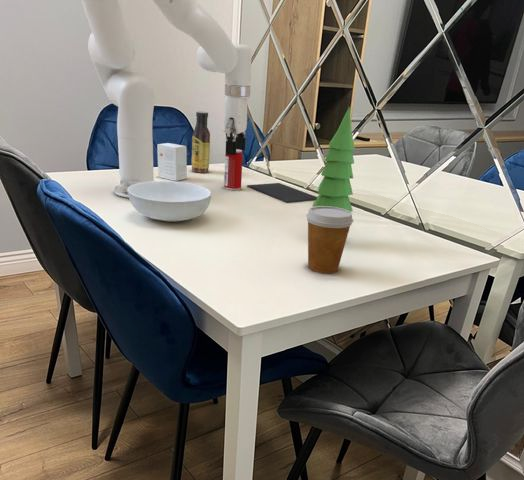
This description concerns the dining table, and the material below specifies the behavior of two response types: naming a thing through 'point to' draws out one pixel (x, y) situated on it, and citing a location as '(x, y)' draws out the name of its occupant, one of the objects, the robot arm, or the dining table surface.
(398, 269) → the dining table surface
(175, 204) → the serving bowl
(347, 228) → the disposable coffee cup
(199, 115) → the sauce bottle
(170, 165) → the small box
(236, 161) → the soda can
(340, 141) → the decorative tree
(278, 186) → the placemat
